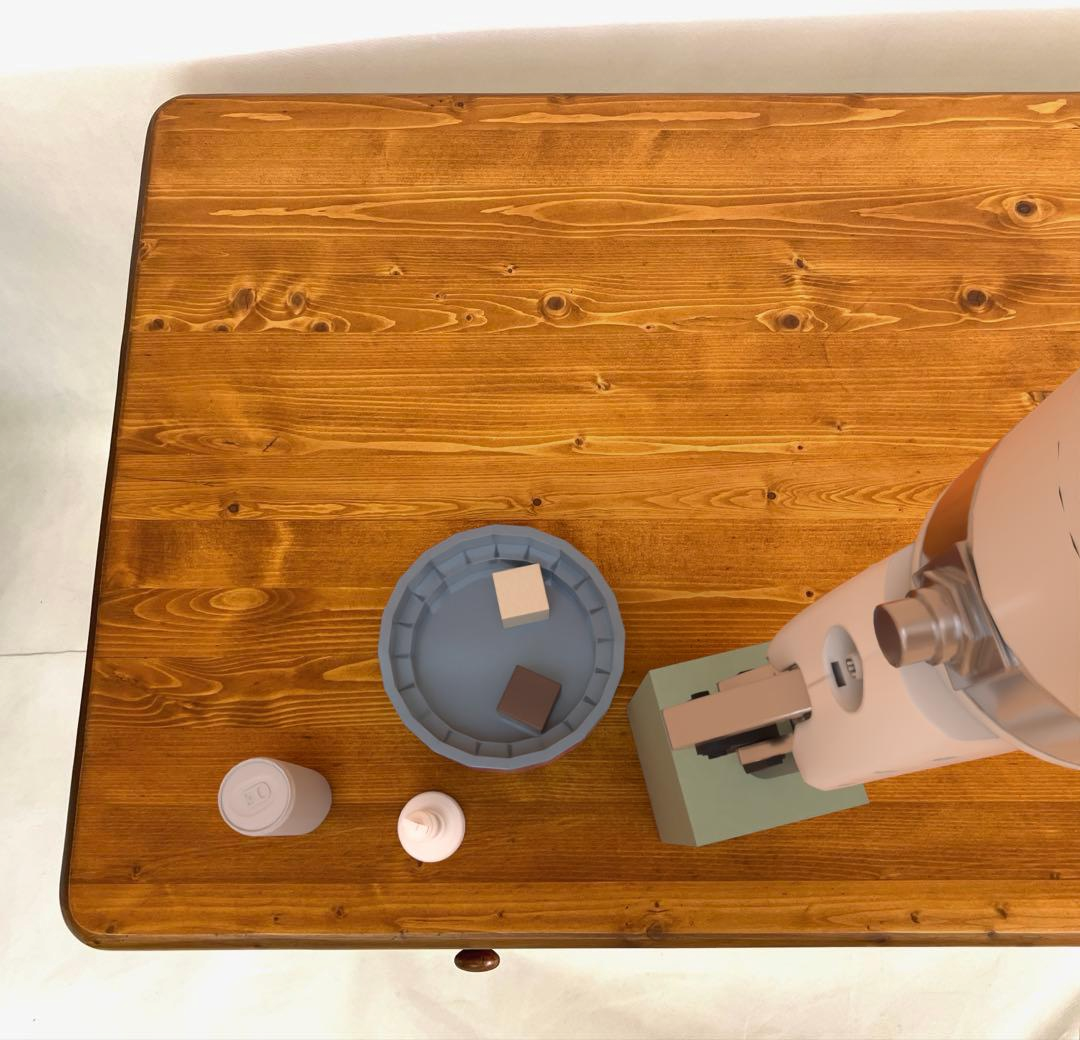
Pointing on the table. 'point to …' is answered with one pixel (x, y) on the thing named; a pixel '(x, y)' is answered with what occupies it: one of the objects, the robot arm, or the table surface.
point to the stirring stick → (788, 763)
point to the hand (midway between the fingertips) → (864, 699)
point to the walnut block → (529, 699)
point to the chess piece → (431, 826)
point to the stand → (715, 764)
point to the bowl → (498, 648)
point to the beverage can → (273, 798)
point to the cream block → (521, 595)
